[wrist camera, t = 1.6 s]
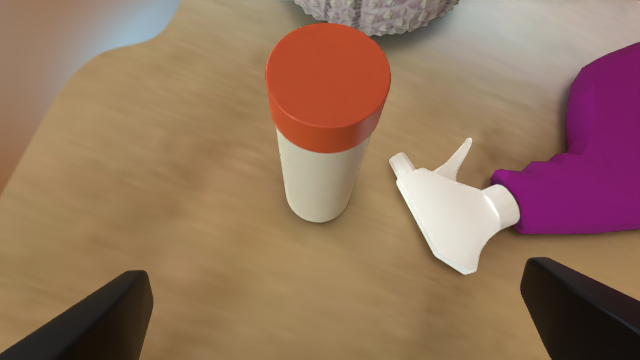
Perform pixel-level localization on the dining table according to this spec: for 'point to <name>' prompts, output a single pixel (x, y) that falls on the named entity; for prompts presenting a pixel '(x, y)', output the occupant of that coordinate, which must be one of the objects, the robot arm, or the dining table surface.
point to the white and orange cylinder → (324, 112)
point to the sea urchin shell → (378, 13)
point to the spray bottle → (543, 174)
